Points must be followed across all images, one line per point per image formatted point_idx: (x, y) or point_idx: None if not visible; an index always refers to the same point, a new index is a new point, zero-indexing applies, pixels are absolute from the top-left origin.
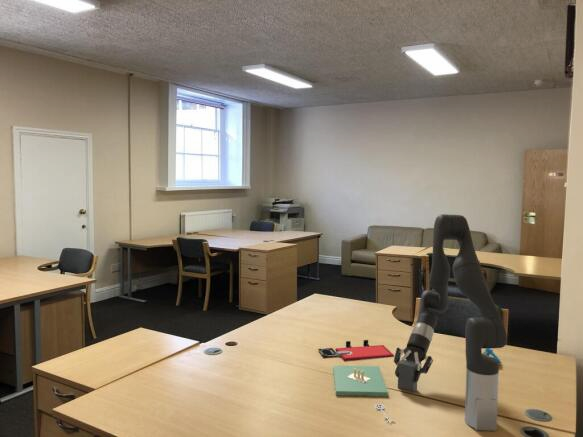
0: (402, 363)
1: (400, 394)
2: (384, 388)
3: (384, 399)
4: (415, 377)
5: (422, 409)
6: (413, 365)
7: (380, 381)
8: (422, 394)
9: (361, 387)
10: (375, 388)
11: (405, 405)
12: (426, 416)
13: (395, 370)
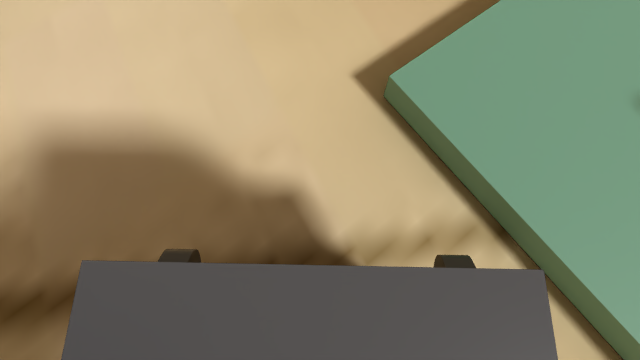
0: (422, 282)
1: (317, 191)
2: (452, 117)
3: (376, 44)
4: None
5: (77, 81)
6: (114, 353)
7: (577, 224)
8: None
9: (604, 17)
10: (510, 70)
11: (207, 58)
12: (30, 17)
13: None
